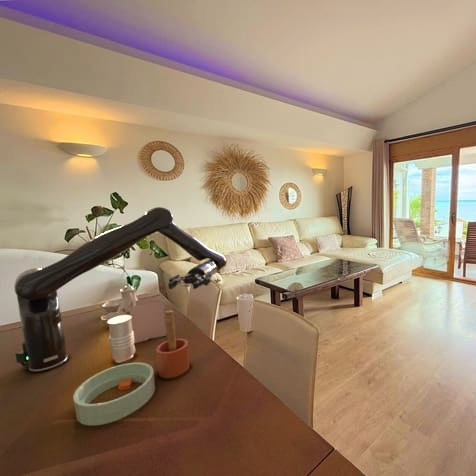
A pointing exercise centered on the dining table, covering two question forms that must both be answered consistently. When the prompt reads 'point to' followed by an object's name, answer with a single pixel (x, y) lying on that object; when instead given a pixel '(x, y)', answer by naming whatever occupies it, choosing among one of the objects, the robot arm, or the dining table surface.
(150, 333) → the greeting card
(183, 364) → the crock
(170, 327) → the stirring stick
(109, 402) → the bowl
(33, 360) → the robot arm
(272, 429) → the dining table surface
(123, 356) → the candle
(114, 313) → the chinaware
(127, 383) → the carrot chunk
